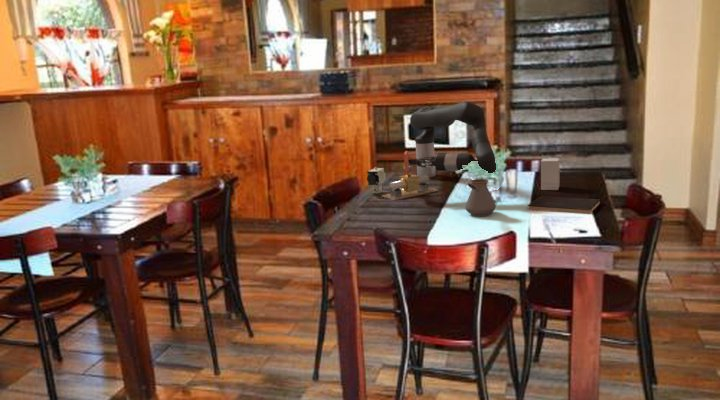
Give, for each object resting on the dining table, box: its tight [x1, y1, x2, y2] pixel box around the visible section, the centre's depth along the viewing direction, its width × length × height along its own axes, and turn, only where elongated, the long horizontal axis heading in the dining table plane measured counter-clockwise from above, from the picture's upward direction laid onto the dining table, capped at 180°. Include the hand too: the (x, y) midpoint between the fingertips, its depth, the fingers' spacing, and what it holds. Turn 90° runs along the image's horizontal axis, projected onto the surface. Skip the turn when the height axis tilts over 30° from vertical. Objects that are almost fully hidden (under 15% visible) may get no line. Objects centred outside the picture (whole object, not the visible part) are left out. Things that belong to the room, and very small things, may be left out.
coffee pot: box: [464, 178, 497, 217], centre depth 232 cm, size 21×12×15 cm, turn 155°
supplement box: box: [540, 157, 561, 191], centre depth 269 cm, size 7×7×13 cm
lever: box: [403, 150, 414, 175], centre depth 272 cm, size 14×4×9 cm, turn 172°
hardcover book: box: [527, 195, 601, 214], centre depth 238 cm, size 16×23×2 cm
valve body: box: [381, 171, 439, 201], centre depth 280 cm, size 24×10×10 cm, turn 122°
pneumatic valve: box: [366, 166, 387, 195], centre depth 287 cm, size 6×12×12 cm, turn 154°
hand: (409, 161), depth 267 cm, fingers closed
